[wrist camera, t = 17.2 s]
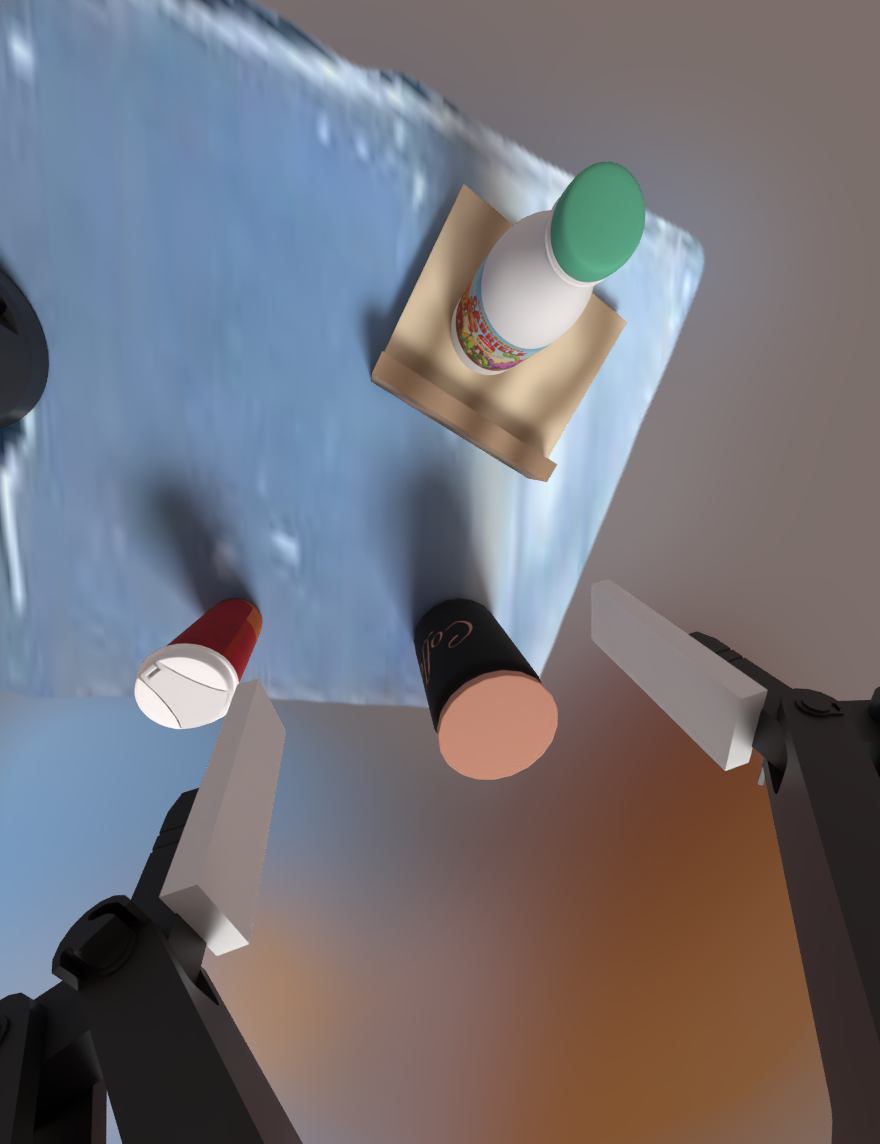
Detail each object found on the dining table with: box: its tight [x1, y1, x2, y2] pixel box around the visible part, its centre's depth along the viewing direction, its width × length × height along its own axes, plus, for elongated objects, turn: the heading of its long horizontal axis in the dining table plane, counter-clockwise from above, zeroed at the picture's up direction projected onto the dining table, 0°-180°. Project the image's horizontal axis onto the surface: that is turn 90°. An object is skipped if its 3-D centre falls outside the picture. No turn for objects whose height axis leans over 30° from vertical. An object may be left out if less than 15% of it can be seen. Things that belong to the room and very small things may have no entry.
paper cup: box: [135, 599, 262, 729], centre depth 38 cm, size 8×8×14 cm
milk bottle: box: [451, 162, 645, 375], centre depth 29 cm, size 8×8×20 cm
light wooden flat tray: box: [371, 184, 627, 482], centre depth 38 cm, size 20×18×5 cm
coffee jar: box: [414, 599, 558, 780], centre depth 41 cm, size 11×11×18 cm
